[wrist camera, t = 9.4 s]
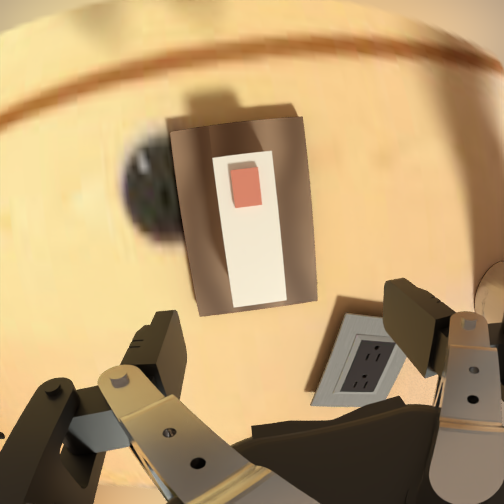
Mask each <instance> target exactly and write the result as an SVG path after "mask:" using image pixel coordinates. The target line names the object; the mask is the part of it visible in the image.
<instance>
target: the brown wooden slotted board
mask: <svg viewBox="0 0 504 504" xmlns="http://www.w3.org/2000/svg"><path fill="white" fill-rule="evenodd" d="M170 136H171V145H172V153H173V160H174V168H175V175H176V183H177V190H178V196H179V203H180V210H181V216H182V222H183V229H184V235H185V241H186V247H187V252H188V258H189V264H190V269H191V275H192V280H193V286H194V291H195V296H196V301H197V306H198V311H199V316H200V317H202V316H210V315H219V314H227V313H235V312H243V311H250V310H258V309H265V308H272V307H279V306H286V305H293V304H299V303H306V302H312V301H318V297H317V276H316V257H315V241H314V227H313V214H312V202H311V190H310V179H309V169H308V159H307V149H306V140H305V132H304V123H303V117H288V118H274V119H263V120H253V121H243V122H234V123H226V124H218V125H211V126H204V127H197V128H191V129H185V130H179V131H173V132H170ZM265 151H272V158H273V167H274V175H275V184H276V194H277V203H278V213H279V222H280V232H281V242H282V253H283V263H284V274H285V286H286V297H287V300H285V301H278V302H271V303H264V304H257V305H249V306H242V307H234V306H233V300H232V294H231V287H230V280H229V274H228V267H227V260H226V254H225V247H224V240H223V233H222V226H221V219H220V211H219V204H218V197H217V189H216V182H215V174H214V167H213V159H212V158H215V157H223V156H230V155H238V154H247V153H255V152H265Z"/></svg>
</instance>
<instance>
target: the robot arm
mask: <svg viewBox="0 0 504 504" xmlns="http://www.w3.org/2000/svg"><path fill="white" fill-rule="evenodd" d="M475 311H476V313H474V312H468V311H463V312H457V313H456V312H455V311H453V310H452V309H451V308H449V307H448V306H447V305H445V304H444V303H443V302H441V301H440V300H439V299H438V298H435V296H433V295H432V294H431V293H429V292H428V291H426V290H423V289H421V288H418V287H416V286H415V285H413V284H412V283H411V282H409V281H408V280H407V279H405V278H400V279H394V280H389V281H386V282H385V285H384V300H383V325H384V328H385V331H386V332H387V333H388V335H389V336H390V337H391V338H392V339H393V341H394V342H395V343H396V344H397V345H398V346H399V348H400V349H401V350H402V351H403V352H404V354H405V355H406V356H407V357H408V359H409V360H410V361H411V362H412V363H413V365H414V366H415V367H416V368H417V369H418V371H419V372H420V373H421V374H422V376H423V377H424V378H428V377H431V376H433V375H436V374H438V375H439V376H438V380H437V384H436V389H435V394H434V399H433V404H432V406H430V405H421V404H407V405H405V403H404V402H403V400H402V399H401V397H400V396H396V397H393V398H389V399H386V400H382V401H379V402H375V403H371V404H367V405H365V406H363V407H361V408H359V409H356V410H354V411H352V412H350V413H348V414H345V415H343V416H341V417H339V418H336V419H334V420H327V421H284V422H278V423H271V424H263V425H255V426H251V428H252V437H250V438H247V439H244V440H242V441H239V442H237V443H235V444H233V445H231V446H230V445H228V444H227V443H226V442H225V441H224V440H223V439H221V438H220V437H219V436H218V435H217V434H216V433H214V432H213V431H212V430H211V429H210V428H209V427H208V426H207V425H205V424H204V423H203V422H202V421H201V420H200V419H199V418H198V417H197V416H196V415H195V414H193V413H192V412H191V411H190V410H189V409H188V408H187V407H186V406H185V405H184V404H183V403H182V402H181V401H180V395H181V390H182V384H183V379H184V374H185V368H186V363H187V351H186V345H185V341H184V337H183V333H182V329H181V324H180V320H179V316H178V313H177V311H176V310H169V311H159V312H156V313H155V316H154V318H153V320H152V322H151V324H150V325H144V326H143V327H142V328H141V329H140V330H139V331H137V332H136V334H135V336H134V338H133V340H132V342H131V344H130V346H129V348H128V350H127V352H126V354H125V356H124V358H123V360H122V362H121V364H120V365H119V366H115V367H112V368H110V369H108V370H106V371H105V372H104V373H102V374H101V376H100V377H99V379H98V385H97V386H94V387H89V388H84V389H79V390H76V389H75V387H74V384H73V382H72V381H71V380H70V379H67V378H54V379H51V380H48V381H46V382H45V383H43V384H42V385H40V386H39V387H38V389H37V390H36V392H35V393H34V395H33V396H32V398H31V400H30V401H29V403H28V405H27V406H26V408H25V409H24V411H23V413H22V415H21V416H20V418H19V420H18V421H17V423H16V425H15V427H14V428H13V430H12V432H11V434H10V435H9V437H8V439H7V441H6V443H5V444H4V446H3V448H2V450H1V452H0V504H93V503H94V498H95V493H96V490H97V486H98V482H99V478H100V474H101V470H102V466H103V462H104V458H105V454H106V451H109V450H114V449H119V448H124V447H129V449H130V450H131V452H132V453H133V455H134V456H135V457H136V459H137V460H138V462H139V463H140V465H141V466H142V467H143V469H144V470H145V472H146V473H147V474H148V476H149V477H150V479H151V480H152V481H153V483H154V484H155V485H156V487H157V488H158V490H159V491H160V492H161V493H162V495H163V496H164V498H165V499H166V501H167V502H168V503H167V504H504V426H502V411H501V409H502V408H501V399H502V400H503V401H504V261H501V262H498V263H496V264H494V265H493V266H492V267H491V268H490V269H489V270H488V271H487V272H486V274H485V275H484V277H483V278H482V280H481V282H480V284H479V287H478V290H477V293H476V297H475ZM62 442H63V444H64V446H63V448H62V451H61V453H60V448H61V445H62Z"/></svg>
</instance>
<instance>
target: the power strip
mask: <svg viewBox="0 0 504 504" xmlns="http://www.w3.org/2000/svg"><path fill="white" fill-rule="evenodd" d="M212 159H213V167H214V174H215V182H216V189H217V197H218V204H219V211H220V219H221V226H222V233H223V240H224V247H225V254H226V260H227V267H228V274H229V280H230V287H231V294H232V300H233V306H234V307H242V306H249V305H257V304H264V303H271V302H278V301H285V300H287V297H286V286H285V274H284V263H283V253H282V242H281V232H280V222H279V213H278V203H277V194H276V184H275V175H274V167H273V158H272V151H265V152H255V153H247V154H238V155H230V156H223V157H215V158H212Z"/></svg>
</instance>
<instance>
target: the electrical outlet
mask: <svg viewBox="0 0 504 504" xmlns="http://www.w3.org/2000/svg"><path fill="white" fill-rule="evenodd" d="M406 357H407V356H406V355H405V354H404V352H403V351H402V350H401V349H400V348H399V346H398V345H397V344H396V343H395V342H394V341H393V339H392V338H391V337H390V336H389V335H388V333H387V332H386V331H385V328H384V325H383V317H377V316H369V315H361V314H353V313H345V315H344V318H343V320H342V323H341V326H340V329H339V332H338V335H337V338H336V340H335V343H334V346H333V348H332V351H331V354H330V357H329V359H328V362H327V364H326V367H325V370H324V372H323V375H322V377H321V380H320V382H319V385H318V387H317V390H316V392H315V394H314V397H313V399H312V402H311V404H310V405H311V406H327V407H363V406H365V405H367V404H371V403H375V402H379V401H382V400H386V398H387V396H388V394H389V392H390V390H391V388H392V386H393V384H394V382H395V380H396V378H397V376H398V374H399V372H400V370H401V368H402V366H403V364H404V361H405V359H406Z"/></svg>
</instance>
